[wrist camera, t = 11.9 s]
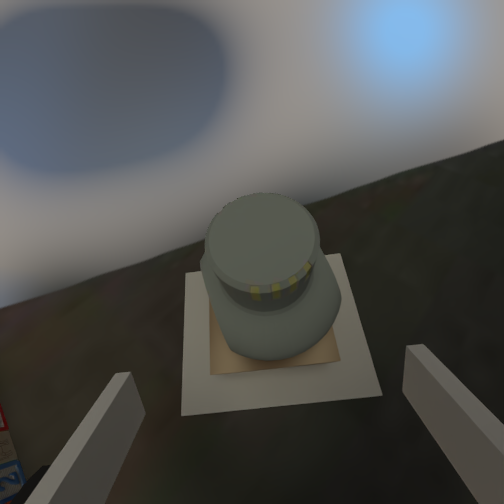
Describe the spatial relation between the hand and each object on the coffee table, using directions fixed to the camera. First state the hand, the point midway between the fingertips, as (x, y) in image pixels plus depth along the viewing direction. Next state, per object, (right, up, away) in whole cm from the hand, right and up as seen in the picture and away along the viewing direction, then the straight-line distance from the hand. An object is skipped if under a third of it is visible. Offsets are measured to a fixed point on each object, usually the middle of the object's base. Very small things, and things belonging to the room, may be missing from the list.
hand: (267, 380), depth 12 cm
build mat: (+1, -1, +13) cm, 13 cm away
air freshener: (+1, +3, +9) cm, 10 cm away
